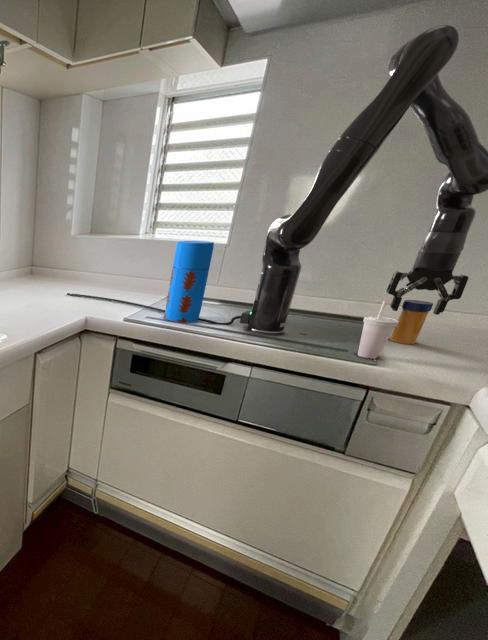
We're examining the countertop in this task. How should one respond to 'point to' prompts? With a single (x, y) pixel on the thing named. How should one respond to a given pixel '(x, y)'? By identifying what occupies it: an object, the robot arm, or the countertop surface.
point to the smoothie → (375, 334)
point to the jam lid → (417, 305)
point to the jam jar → (408, 326)
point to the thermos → (188, 280)
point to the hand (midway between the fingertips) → (414, 312)
